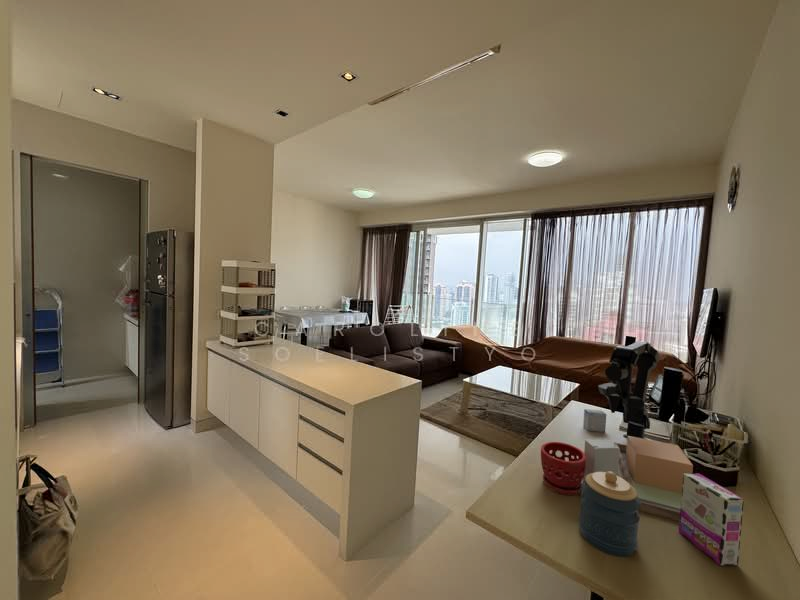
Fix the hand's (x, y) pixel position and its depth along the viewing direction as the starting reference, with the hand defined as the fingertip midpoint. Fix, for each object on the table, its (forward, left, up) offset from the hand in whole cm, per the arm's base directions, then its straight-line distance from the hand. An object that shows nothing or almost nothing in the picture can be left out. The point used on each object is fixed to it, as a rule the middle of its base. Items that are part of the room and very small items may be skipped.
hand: (619, 416), depth 132 cm
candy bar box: (+26, +43, -14) cm, 52 cm away
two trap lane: (+7, +20, -14) cm, 25 cm away
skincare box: (+30, +16, -14) cm, 37 cm away
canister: (+48, +33, -14) cm, 60 cm away
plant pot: (+42, +12, -14) cm, 46 cm away
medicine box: (-8, -18, -14) cm, 24 cm away
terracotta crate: (+5, +18, -14) cm, 23 cm away
